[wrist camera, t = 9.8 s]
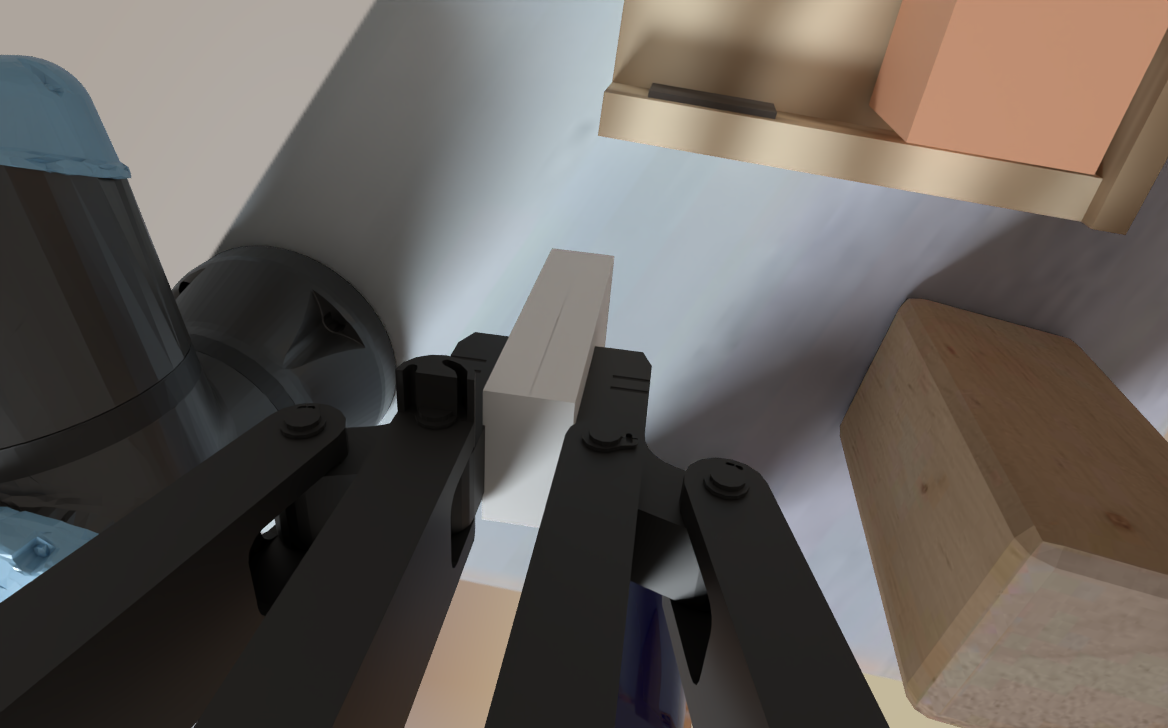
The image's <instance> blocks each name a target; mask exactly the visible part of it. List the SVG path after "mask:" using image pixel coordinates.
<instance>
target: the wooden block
mask: <svg viewBox="0 0 1168 728" xmlns="http://www.w3.org/2000/svg"><path fill="white" fill-rule="evenodd" d="M840 438H841V442H842V446H843V450H844V454H845V458H846V462H847V466H848V470H849V474H850V478H851V482H852V485H853V489H854V493H855V497H856V501H857V505H858V509H859V513H860V517H861V521H862V525H863V529H864V532H865V536H866V540H867V544H868V548H869V552H870V556H871V560H872V564H873V568H874V572H875V576H876V580H877V583H878V587H879V591H880V595H881V599H882V603H883V607H884V611H885V615H886V619H887V623H888V627H889V630H890V634H891V638H892V642H893V646H894V650H895V654H896V658H897V662H898V666H899V670H900V674H901V677H902V681H903V685H904V689H905V693H906V697H907V698H908V700H909V701H910V703H911V704H912V706H913V707H914V709H915V710H917V711H919V712H920V713H922V714H923V715H925V716H926V717H927V718H930V719H933V720H937V721H940V722H944V723H947V724H951V725H954V726H957V727H961V728H1168V442H1167V441H1166V440H1165V439H1164V438H1163V437H1162V435H1161V434H1160V433H1159V432H1158V431H1157V430H1156V429H1155V428H1154V427H1153V426H1152V425H1151V424H1150V422H1149V421H1148V420H1147V419H1146V418H1145V417H1144V416H1143V415H1142V414H1141V413H1140V412H1139V411H1138V409H1137V408H1136V407H1135V406H1134V405H1133V404H1132V403H1131V402H1130V401H1129V400H1128V399H1127V398H1126V396H1125V395H1124V394H1123V393H1122V392H1121V391H1120V390H1119V389H1118V388H1117V387H1116V386H1115V385H1114V384H1113V382H1112V381H1111V380H1110V379H1109V378H1108V377H1107V376H1106V375H1105V374H1104V373H1103V372H1102V371H1101V369H1100V368H1099V367H1098V366H1097V365H1096V364H1095V363H1094V362H1093V361H1092V360H1091V359H1090V358H1089V356H1088V355H1087V354H1086V353H1085V352H1084V351H1083V350H1082V349H1081V348H1080V347H1079V346H1078V345H1077V344H1076V343H1074V342H1073V341H1072V340H1071V339H1069V338H1065V337H1061V336H1058V335H1054V334H1050V333H1047V332H1043V331H1040V330H1036V329H1032V328H1029V327H1025V326H1021V325H1018V324H1014V323H1010V322H1007V321H1003V320H999V319H996V318H992V317H988V316H985V315H981V314H977V313H974V312H970V311H966V310H963V309H959V308H955V307H952V306H948V305H944V304H941V303H937V302H933V301H930V300H926V299H919V298H918V299H907V300H906V301H905V302H904V303H903V304H902V305H901V307H900V308H899V310H898V312H897V314H896V316H895V318H894V320H893V322H892V324H891V326H890V328H889V330H888V332H887V333H886V335H885V337H884V339H883V341H882V343H881V345H880V347H879V349H878V351H877V353H876V355H875V357H874V359H873V361H872V363H871V365H870V367H869V369H868V371H867V373H866V375H865V377H864V379H863V381H862V383H861V385H860V387H859V389H858V391H857V393H856V395H855V397H854V399H853V401H852V403H851V405H850V407H849V409H848V411H847V413H846V415H845V417H844V419H843V421H842V423H841V425H840Z"/></svg>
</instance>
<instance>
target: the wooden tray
mask: <svg viewBox="0 0 1168 728" xmlns="http://www.w3.org/2000/svg"><path fill="white" fill-rule="evenodd" d="M901 3H902V0H624V6H623V13H622V20H621V27H620V33H619V40H618V47H617V54H616V60H615V67H614V74H613V81H612V83H611V84H610V86H609V87H608V88H607V89H606V90H605V92H604V97H603V104H602V111H601V118H600V125H599V132H598V136H603V137H609V138H614V139H620V140H625V141H631V142H637V143H642V144H648V145H654V146H659V147H665V148H670V149H676V150H682V151H687V152H693V153H698V154H704V155H710V156H715V157H721V158H726V159H732V160H738V161H743V162H749V163H755V164H760V165H766V166H771V167H777V168H783V169H788V170H794V171H799V172H805V173H811V174H816V175H822V176H828V177H833V178H839V179H844V180H850V181H856V182H861V183H867V184H872V185H878V186H884V187H889V188H895V189H900V190H906V191H912V192H917V193H923V194H929V195H934V196H940V197H945V198H951V199H957V200H962V201H968V202H973V203H979V204H985V205H990V206H996V207H1002V208H1007V209H1013V210H1018V211H1024V212H1030V213H1035V214H1041V215H1046V216H1052V217H1058V218H1063V219H1069V220H1074V221H1080V222H1082V223H1084V224H1085V225H1086V226H1088V227H1089V228H1090V229H1095V230H1100V231H1106V232H1112V233H1117V234H1123V235H1126V233H1127V231H1128V230H1129V228H1130V226H1131V224H1132V222H1133V220H1134V219H1135V217H1136V215H1137V213H1138V211H1139V209H1140V208H1141V206H1142V204H1143V202H1144V200H1145V198H1146V197H1147V195H1148V193H1149V191H1150V189H1151V187H1152V186H1153V184H1154V182H1155V180H1156V178H1157V176H1158V175H1159V173H1160V171H1161V169H1162V167H1163V165H1164V163H1165V162H1166V160H1167V158H1168V28H1167V30H1166V32H1165V34H1164V36H1163V38H1162V40H1161V42H1160V44H1159V46H1158V48H1157V50H1156V52H1155V54H1154V56H1153V58H1152V60H1151V62H1150V64H1149V66H1148V68H1147V70H1146V72H1145V74H1144V76H1143V78H1142V80H1141V82H1140V84H1139V86H1138V88H1137V90H1136V92H1135V94H1134V96H1133V98H1132V100H1131V102H1130V104H1129V106H1128V108H1127V110H1126V112H1125V114H1124V116H1123V118H1122V120H1121V122H1120V124H1119V126H1118V128H1117V130H1116V132H1115V134H1114V136H1113V139H1112V141H1111V143H1110V145H1109V147H1108V149H1107V151H1106V153H1105V155H1104V157H1103V159H1102V161H1101V163H1100V165H1099V167H1098V169H1097V171H1096V173H1095V175H1091V174H1086V173H1080V172H1074V171H1068V170H1063V169H1057V168H1051V167H1045V166H1040V165H1034V164H1028V163H1022V162H1017V161H1011V160H1005V159H999V158H994V157H988V156H982V155H976V154H971V153H965V152H959V151H953V150H948V149H942V148H936V147H930V146H924V145H919V144H913V143H907V142H905V141H904V140H903V139H902V138H901V137H900V136H899V135H898V134H897V133H896V132H895V131H894V130H893V129H892V128H891V127H890V126H889V125H888V124H887V123H886V122H885V121H884V120H883V119H882V118H881V117H880V116H879V115H878V114H877V113H876V112H875V111H874V110H873V109H872V108H871V107H870V106H869V102H870V99H871V96H872V93H873V90H874V87H875V84H876V81H877V78H878V74H879V71H880V68H881V65H882V62H883V59H884V56H885V53H886V50H887V47H888V43H889V40H890V37H891V34H892V31H893V28H894V25H895V22H896V19H897V16H898V13H899V9H900V6H901Z"/></svg>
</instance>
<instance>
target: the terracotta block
mask: <svg viewBox="0 0 1168 728" xmlns="http://www.w3.org/2000/svg"><path fill="white" fill-rule="evenodd" d="M1167 28H1168V0H902V3H901V6H900V9H899V13H898V16H897V19H896V22H895V25H894V28H893V31H892V34H891V37H890V40H889V43H888V47H887V50H886V53H885V56H884V59H883V62H882V65H881V68H880V71H879V74H878V78H877V81H876V84H875V87H874V90H873V93H872V96H871V99H870V102H869V106H870V107H871V108H872V109H873V110H874V111H875V112H876V113H877V114H878V115H879V116H880V117H881V118H882V119H883V120H884V121H885V122H886V123H887V124H888V125H889V126H890V127H891V128H892V129H893V130H894V131H895V132H896V133H897V134H898V135H899V136H900V137H901V138H902V139H903V140H904V141H905V142H907V143H913V144H919V145H924V146H930V147H936V148H942V149H948V150H953V151H959V152H965V153H971V154H976V155H982V156H988V157H994V158H999V159H1005V160H1011V161H1017V162H1022V163H1028V164H1034V165H1040V166H1045V167H1051V168H1057V169H1063V170H1068V171H1074V172H1080V173H1086V174H1091V175H1095V173H1096V171H1097V169H1098V167H1099V165H1100V163H1101V161H1102V159H1103V157H1104V155H1105V153H1106V151H1107V149H1108V147H1109V145H1110V143H1111V141H1112V139H1113V136H1114V134H1115V132H1116V130H1117V128H1118V126H1119V124H1120V122H1121V120H1122V118H1123V116H1124V114H1125V112H1126V110H1127V108H1128V106H1129V104H1130V102H1131V100H1132V98H1133V96H1134V94H1135V92H1136V90H1137V88H1138V86H1139V84H1140V82H1141V80H1142V78H1143V76H1144V74H1145V72H1146V70H1147V68H1148V66H1149V64H1150V62H1151V60H1152V58H1153V56H1154V54H1155V52H1156V50H1157V48H1158V46H1159V44H1160V42H1161V40H1162V38H1163V36H1164V34H1165V32H1166V30H1167Z"/></svg>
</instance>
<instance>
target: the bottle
mask: <svg viewBox="0 0 1168 728" xmlns="http://www.w3.org/2000/svg"><path fill="white" fill-rule="evenodd" d="M691 724H692V722H691V718H690V714H689V710H688V706H687V702H686V698H685V694H684V690H683V686H682V682H681V678H680V674H679V670H678V666H677V662H676V658H675V654H674V650H673V646H672V642H671V638H670V634H669V630H668V626H667V622H666V618H665V614H664V610H663V606H662V595H661V594H659V593H657V592H655V591H652V590H650V589H648V588H645V587H643V586H641V585H639V584H636V583H634V582H632V581H630V587H629V596H628V606H627V615H626V625H625V634H624V643H623V653H622V662H621V672H620V681H619V690H618V700H617V709H616V719H615V728H691Z"/></svg>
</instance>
